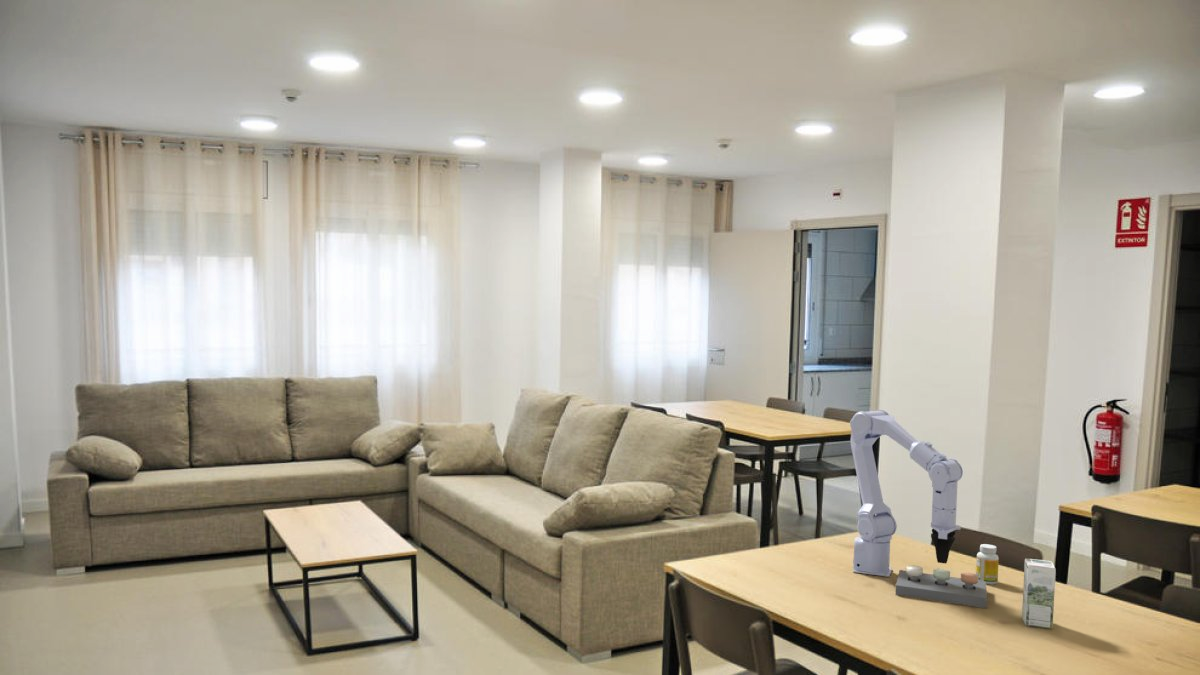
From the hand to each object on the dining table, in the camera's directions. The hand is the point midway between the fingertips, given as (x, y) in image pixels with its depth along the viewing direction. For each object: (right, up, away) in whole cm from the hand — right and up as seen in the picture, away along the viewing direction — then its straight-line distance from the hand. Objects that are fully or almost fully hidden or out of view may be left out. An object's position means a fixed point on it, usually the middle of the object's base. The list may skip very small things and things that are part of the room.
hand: (942, 560), depth 217 cm
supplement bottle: (+16, -9, +11) cm, 21 cm away
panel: (0, -8, 0) cm, 8 cm away
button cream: (-6, -6, +3) cm, 9 cm away
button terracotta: (+6, -7, -2) cm, 9 cm away
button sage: (0, -6, 0) cm, 6 cm away
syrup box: (+14, -10, -20) cm, 26 cm away
